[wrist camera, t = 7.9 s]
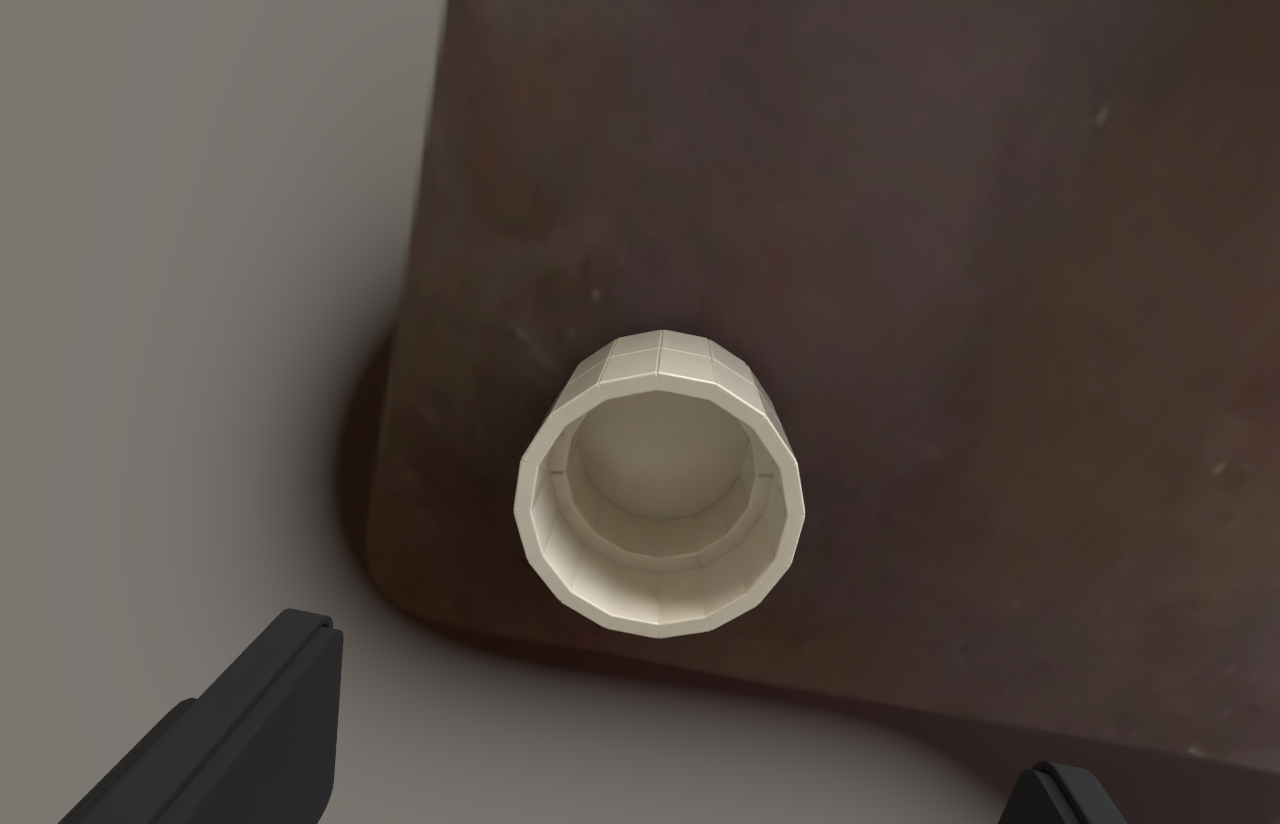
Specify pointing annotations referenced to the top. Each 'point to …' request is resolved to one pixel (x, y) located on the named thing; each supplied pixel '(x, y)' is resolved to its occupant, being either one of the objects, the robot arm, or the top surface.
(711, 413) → the cup
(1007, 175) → the top surface
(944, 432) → the top surface
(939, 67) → the top surface
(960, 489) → the top surface
